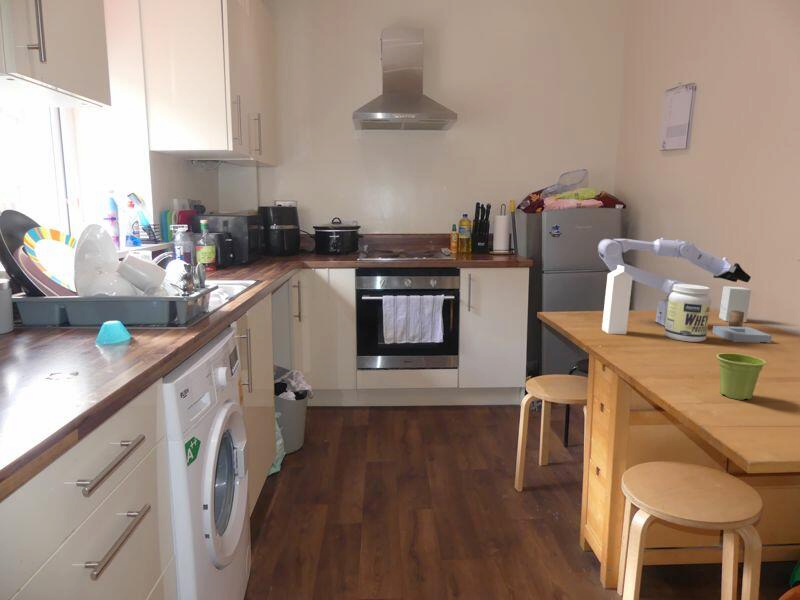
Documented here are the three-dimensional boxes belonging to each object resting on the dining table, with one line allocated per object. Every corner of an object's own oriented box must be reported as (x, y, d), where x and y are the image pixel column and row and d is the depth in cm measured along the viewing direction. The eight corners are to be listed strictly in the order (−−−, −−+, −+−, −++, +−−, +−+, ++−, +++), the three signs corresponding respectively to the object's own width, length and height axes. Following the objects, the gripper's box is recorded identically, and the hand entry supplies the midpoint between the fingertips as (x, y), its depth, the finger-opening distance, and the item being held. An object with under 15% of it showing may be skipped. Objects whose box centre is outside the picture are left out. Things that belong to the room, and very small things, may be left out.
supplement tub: (680, 343, 175) (687, 289, 172) (655, 333, 187) (661, 283, 184) (715, 342, 177) (722, 289, 174) (688, 333, 189) (694, 283, 186)
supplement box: (746, 323, 211) (751, 289, 209) (725, 321, 212) (729, 288, 210) (739, 319, 218) (744, 286, 216) (718, 317, 219) (722, 285, 217)
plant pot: (710, 397, 125) (715, 359, 124) (712, 386, 133) (717, 350, 131) (760, 406, 120) (766, 367, 119) (759, 394, 128) (765, 357, 127)
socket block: (733, 341, 179) (734, 334, 179) (712, 333, 191) (713, 325, 191) (770, 343, 179) (771, 335, 179) (747, 334, 191) (748, 327, 191)
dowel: (732, 332, 193) (735, 312, 192) (725, 329, 197) (728, 310, 196) (743, 333, 193) (746, 312, 192) (736, 330, 197) (739, 310, 196)
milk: (607, 333, 184) (614, 266, 180) (601, 329, 190) (608, 264, 186) (626, 334, 184) (633, 267, 180) (619, 330, 190) (626, 264, 186)
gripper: (723, 250, 190) (760, 269, 190) (703, 252, 205) (737, 269, 204) (713, 269, 191) (750, 287, 190) (693, 269, 205) (727, 286, 205)
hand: (743, 279), depth 197 cm, fingers open, 7 cm apart
